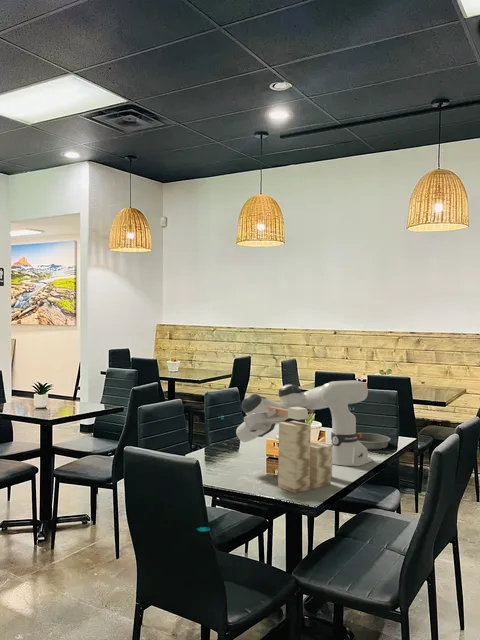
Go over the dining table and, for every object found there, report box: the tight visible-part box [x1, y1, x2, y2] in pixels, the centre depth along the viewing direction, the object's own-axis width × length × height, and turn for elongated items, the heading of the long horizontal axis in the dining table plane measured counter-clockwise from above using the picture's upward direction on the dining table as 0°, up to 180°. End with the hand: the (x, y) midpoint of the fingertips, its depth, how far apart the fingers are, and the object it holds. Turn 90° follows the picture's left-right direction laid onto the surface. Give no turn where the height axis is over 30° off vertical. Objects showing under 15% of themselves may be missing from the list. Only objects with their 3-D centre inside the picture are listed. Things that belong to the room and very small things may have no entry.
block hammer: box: [268, 406, 308, 420], centre depth 232 cm, size 5×20×4 cm, turn 37°
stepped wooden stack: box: [277, 421, 332, 494], centre depth 231 cm, size 20×10×26 cm, turn 127°
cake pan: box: [356, 432, 392, 450], centre depth 310 cm, size 25×25×4 cm
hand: (279, 410), depth 235 cm, fingers closed on block hammer, 2 cm apart
